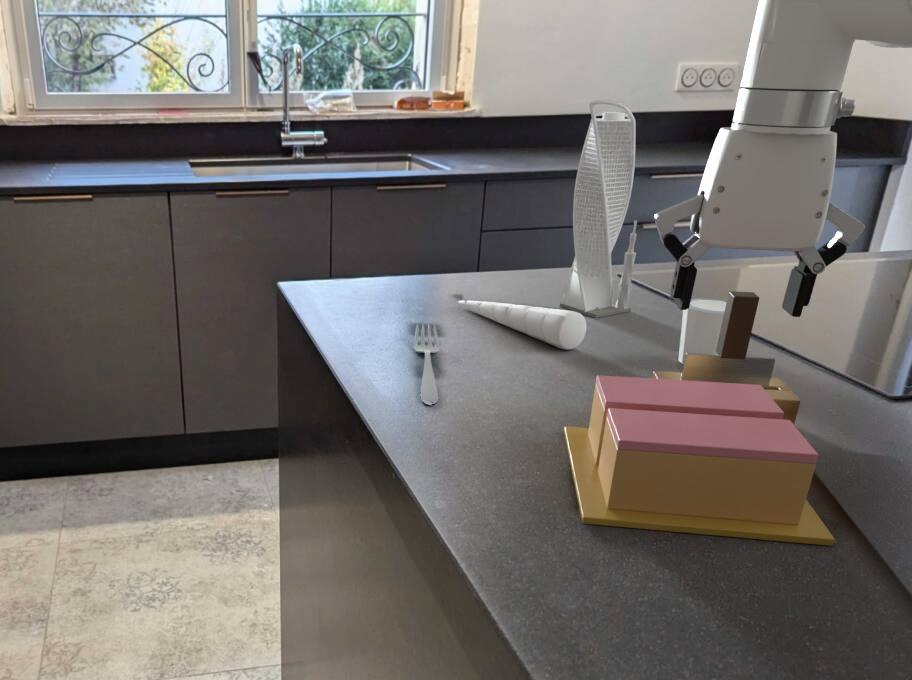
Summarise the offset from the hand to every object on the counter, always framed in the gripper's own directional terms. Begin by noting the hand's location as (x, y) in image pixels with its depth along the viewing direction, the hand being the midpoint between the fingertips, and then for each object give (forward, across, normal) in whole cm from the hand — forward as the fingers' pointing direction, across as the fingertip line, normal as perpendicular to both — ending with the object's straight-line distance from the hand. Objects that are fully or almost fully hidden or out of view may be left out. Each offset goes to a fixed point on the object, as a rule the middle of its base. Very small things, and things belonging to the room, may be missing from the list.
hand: (735, 309), depth 77 cm
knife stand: (+12, -1, 0) cm, 12 cm away
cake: (+12, +5, +14) cm, 19 cm away
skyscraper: (+12, +7, -41) cm, 43 cm away
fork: (+12, +29, -11) cm, 33 cm away
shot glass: (+12, -4, -19) cm, 23 cm away
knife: (+12, -1, 0) cm, 12 cm away
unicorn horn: (+12, +18, -29) cm, 36 cm away
